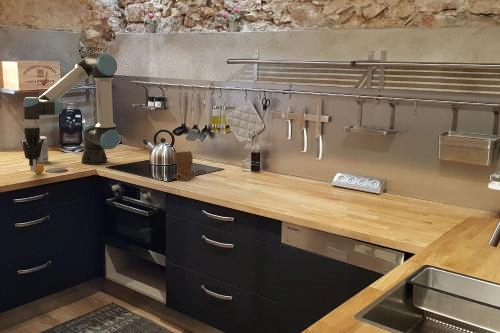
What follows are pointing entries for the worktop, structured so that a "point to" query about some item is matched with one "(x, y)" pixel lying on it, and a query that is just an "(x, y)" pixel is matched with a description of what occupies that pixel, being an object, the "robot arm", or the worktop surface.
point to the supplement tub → (43, 151)
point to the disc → (56, 170)
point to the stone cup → (184, 165)
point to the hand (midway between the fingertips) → (33, 171)
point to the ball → (39, 169)
